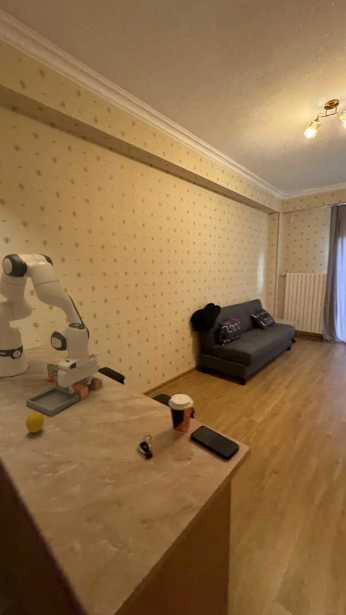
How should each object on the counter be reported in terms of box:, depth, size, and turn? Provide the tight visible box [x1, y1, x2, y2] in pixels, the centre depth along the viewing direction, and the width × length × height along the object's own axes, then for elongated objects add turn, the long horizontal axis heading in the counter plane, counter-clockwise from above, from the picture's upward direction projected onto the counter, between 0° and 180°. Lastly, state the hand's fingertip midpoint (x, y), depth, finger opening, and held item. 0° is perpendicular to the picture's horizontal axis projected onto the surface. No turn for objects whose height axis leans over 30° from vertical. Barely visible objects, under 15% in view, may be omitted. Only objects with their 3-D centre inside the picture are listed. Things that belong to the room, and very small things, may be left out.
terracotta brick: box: [72, 384, 89, 399], centre depth 122 cm, size 6×4×4 cm, turn 58°
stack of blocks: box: [46, 359, 88, 386], centre depth 136 cm, size 21×6×12 cm, turn 80°
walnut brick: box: [86, 376, 103, 391], centre depth 129 cm, size 6×4×4 cm, turn 59°
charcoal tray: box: [25, 386, 80, 418], centre depth 114 cm, size 16×14×2 cm
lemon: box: [25, 411, 45, 434], centre depth 94 cm, size 6×6×8 cm
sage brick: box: [57, 383, 76, 392], centre depth 126 cm, size 4×6×4 cm, turn 149°
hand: (80, 388), depth 121 cm, fingers open, 8 cm apart
